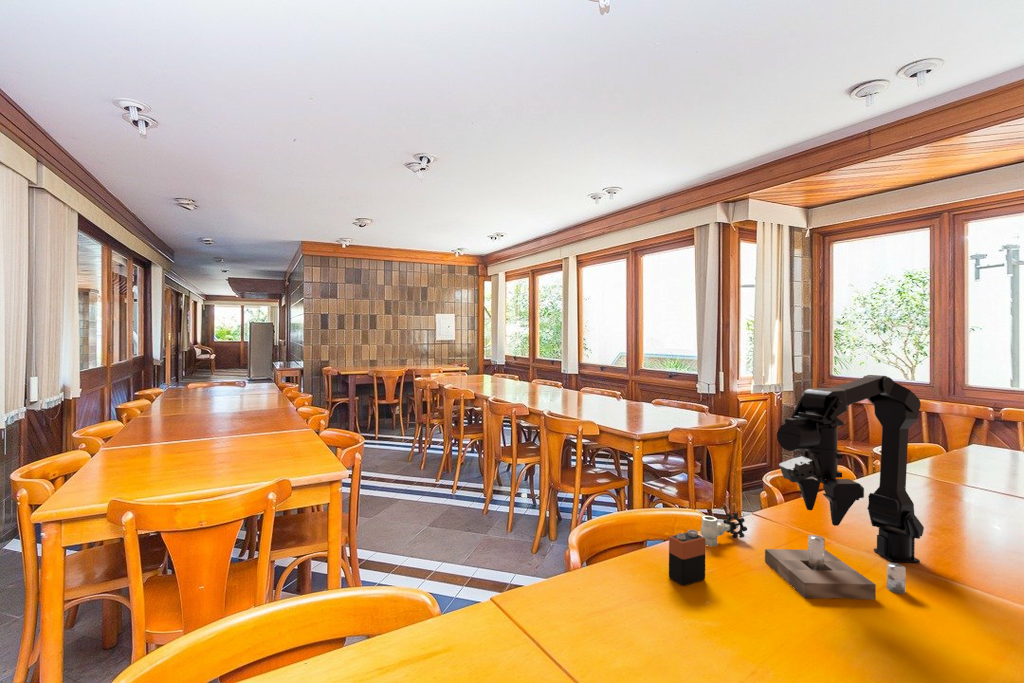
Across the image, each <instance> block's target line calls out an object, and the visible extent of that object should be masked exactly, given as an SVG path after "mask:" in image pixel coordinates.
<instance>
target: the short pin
mask: <svg viewBox="0 0 1024 683" xmlns="http://www.w3.org/2000/svg"><path fill="white" fill-rule="evenodd" d="M888 589H889V590H888ZM886 590H888V591H890V592H891V593H895V594H899V595H904V594H906V567H905V566H904V565H902V564H899V563H898V562H888V563H886Z"/></svg>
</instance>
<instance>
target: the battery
mask: <svg viewBox="0 0 1024 683" xmlns="http://www.w3.org/2000/svg"><path fill="white" fill-rule="evenodd" d="M698 533H699V531H697V530H695V529H688V530H687V532H683V533H677V534H674V535H670V536H669V537H668V578H669V579H670V580H673V581H674V582H675V583H677V584H678V585H680V586H682V587H683V586H688V585H691V584H694V583H698V582H701V581H704V580H706V548H707V546H706V539H705V538H704V537H702V535H699V534H698Z"/></svg>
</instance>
